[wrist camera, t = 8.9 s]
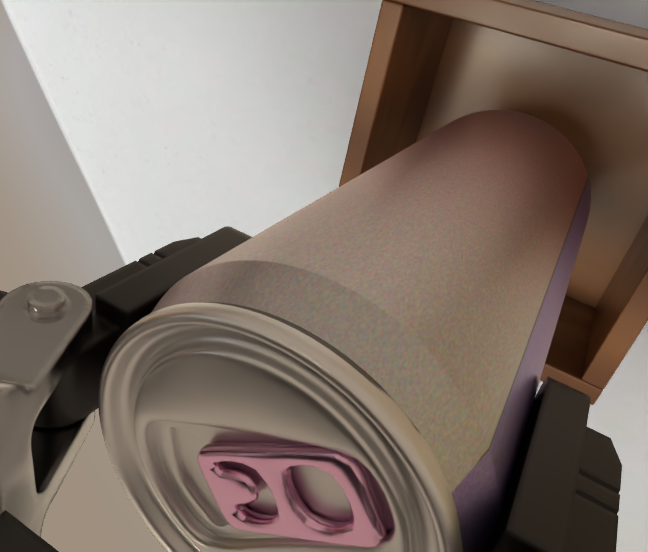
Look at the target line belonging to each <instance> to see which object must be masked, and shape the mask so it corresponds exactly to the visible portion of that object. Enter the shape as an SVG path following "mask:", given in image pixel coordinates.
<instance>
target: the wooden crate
mask: <svg viewBox="0 0 648 552" xmlns="http://www.w3.org/2000/svg"><path fill="white" fill-rule="evenodd" d="M486 110H511V111H517V112H522V113H525V114H529V115H531V116H534V117H536V118H539V119H541V120H543V121H545V122H546V123H548V124H550V125H551V126H553V127H554V128H555V129H557V130H558V131H559V132H560V133H562V134H563V135H564V136H565V137H566V138H567V139H568V140H569V142H570V143H571V144H572V145H573V147H574V148H575V149H576V151H577V152H578V154H579V156H580V157H581V159H582V161H583V163H584V166H585V168H586V171H587V174H588V178H589V183H590V190H591V205H590V212H589V217H588V221H587V224H586V228H585V231H584V234H583V238H582V241H581V244H580V248H579V251H578V254H577V258H576V261H575V264H574V268H573V271H572V274H571V278H570V281H569V284H568V288H567V291H566V294H565V298H564V301H563V304H562V308H561V311H560V314H559V318H558V321H557V324H556V328H555V331H554V335H553V338H552V341H551V345H550V348H549V351H548V355H547V358H546V361H545V365H544V368H543V371H542V375H541V378H540V381H543V382H544V381H545V379H546V378H547V377H548V376H549V377H551V378H553V379H555V380H557V381H559V382H562V383H564V384H566V385H568V386H570V387H572V388H574V389H577V390H579V391H581V392H583V393H585V394H587V395H589V396H590V397H591V400H590V404H591V405H593V404H595V402H596V400H597V399H598V397H599V396H600V394H601V393H602V391H603V389H604V388H605V387H606V385H607V383H608V382H609V380H610V379H611V377H612V376H613V374H614V372H615V371H616V369H617V368H618V366H619V365H620V363H621V361H622V360H623V358H624V357H625V355H626V354H627V352H628V351H629V349H630V347H631V346H632V344H633V343H634V341H635V340H636V338H637V336H638V335H639V333H640V332H641V330H642V329H643V327H644V325H645V324H646V322H647V321H648V30H647V29H643V28H639V27H635V26H631V25H627V24H624V23H620V22H616V21H612V20H608V19H604V18H600V17H596V16H592V15H588V14H584V13H580V12H576V11H572V10H568V9H564V8H561V7H557V6H553V5H549V4H545V3H541V2H537V1H533V0H383V1H382V4H381V9H380V13H379V17H378V21H377V26H376V30H375V34H374V39H373V43H372V47H371V51H370V56H369V60H368V64H367V68H366V73H365V77H364V81H363V86H362V90H361V94H360V98H359V103H358V107H357V111H356V115H355V120H354V124H353V128H352V133H351V137H350V141H349V145H348V150H347V154H346V158H345V163H344V167H343V171H342V175H341V180H340V184H339V187H340V186H342V185H344V184H345V183H347V182H349V181H351V180H352V179H354V178H356V177H358V176H359V175H361V174H363V173H364V172H366V171H368V170H370V169H371V168H373V167H375V166H377V165H378V164H380V163H382V162H383V161H385V160H387V159H389V158H390V157H392V156H394V155H395V154H397V153H399V152H401V151H402V150H404V149H406V148H408V147H409V146H411V145H413V144H414V143H416V142H418V141H420V140H421V139H423V138H425V137H427V136H428V135H430V134H432V133H433V132H435V131H437V130H439V129H440V128H442V127H444V126H446V125H447V124H449V123H451V122H453V121H454V120H456V119H458V118H460V117H463V116H465V115H468V114H472V113H475V112H480V111H486Z"/></svg>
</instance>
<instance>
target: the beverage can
mask: <svg viewBox="0 0 648 552" xmlns="http://www.w3.org/2000/svg"><path fill="white" fill-rule="evenodd" d="M590 205H591V190H590V183H589V178H588V174H587V171H586V168H585V166H584V163H583V161H582V159H581V157H580V156H579V154H578V152H577V151H576V149H575V148H574V147H573V145H572V144H571V143H570V142H569V140H568V139H567V138H566V137H565V136H564V135H563V134H562V133H560V132H559V131H558V130H557V129H555V128H554V127H553V126H551V125H550V124H548V123H546V122H545V121H543V120H541V119H539V118H536V117H534V116H531V115H529V114H525V113H522V112H517V111H511V110H486V111H480V112H475V113H472V114H468V115H465V116H463V117H460V118H458V119H456V120H454V121H453V122H451V123H449V124H447V125H446V126H444V127H442V128H440V129H439V130H437V131H435V132H433V133H432V134H430V135H428V136H427V137H425V138H423V139H421V140H420V141H418V142H416V143H414V144H413V145H411V146H409V147H408V148H406V149H404V150H402V151H401V152H399V153H397V154H395V155H394V156H392V157H390V158H389V159H387V160H385V161H383V162H382V163H380V164H378V165H377V166H375V167H373V168H371V169H370V170H368V171H366V172H364V173H363V174H361V175H359V176H358V177H356V178H354V179H352V180H351V181H349V182H347V183H345V184H344V185H342V186H340V187H339V188H337V189H335V190H333V191H332V192H330V193H328V194H327V195H325V196H323V197H321V198H320V199H318V200H316V201H314V202H313V203H311V204H309V205H308V206H306V207H304V208H302V209H301V210H299V211H297V212H295V213H294V214H292V215H290V216H289V217H287V218H285V219H283V220H282V221H280V222H278V223H276V224H275V225H273V226H271V227H270V228H268V229H266V230H264V231H263V232H261V233H259V234H258V235H256V236H254V237H252V238H251V239H249V240H247V241H245V242H244V243H242V244H240V245H239V246H237V247H235V248H233V249H232V250H230V251H228V252H226V253H225V254H223V255H221V256H220V257H218V258H216V259H214V260H213V261H211V262H209V263H208V264H206V265H204V266H202V267H201V268H199V269H197V270H195V271H194V272H192V273H190V274H189V275H187V276H185V277H184V278H182V279H181V280H179V281H178V282H177V283H175V284H174V285H173V286H172V287H171V288H170V289H169V290H168V291H167V292H166V293H165V295H164V296H163V297H162V298H161V299H160V301H159V302H158V304H157V305H156V306H155V308H154V309H153V311H152V312H151V313H150V314H149V315H147V316H145V317H143V318H142V319H140V320H139V321H137V322H136V323H134V324H133V325H132V326H130V327H129V328H128V329H127V330H126V331H125V332H124V333H123V334H122V335H121V336H120V337H119V339H118V340H117V341H116V342H115V344H114V345H113V347H112V348H111V350H110V352H109V354H108V356H107V358H106V361H105V363H104V366H103V369H102V373H101V377H100V383H99V395H98V404H99V416H100V423H101V428H102V433H103V437H104V441H105V445H106V448H107V451H108V454H109V457H110V460H111V462H112V465H113V467H114V470H115V472H116V474H117V476H118V479H119V481H120V483H121V485H122V487H123V489H124V490H125V493H126V494H127V496H128V498H129V500H130V501H131V503H132V505H133V506H134V508H135V510H136V511H137V513H138V514H139V516H140V517H141V519H142V520H143V522H144V523H145V525H146V526H147V527H148V529H149V530H150V531H151V533H152V534H153V535H154V537H155V538H156V539H157V540H158V542H159V543H160V544H161V545H162V546H163V548H164V549H165V550H166V551H167V552H486V550H487V548H488V546H489V544H490V542H491V540H492V538H493V535H494V532H495V528H496V525H497V522H498V518H499V515H500V512H501V508H502V505H503V502H504V498H505V495H506V492H507V488H508V485H509V482H510V478H511V475H512V471H513V468H514V465H515V461H516V458H517V455H518V451H519V448H520V445H521V441H522V438H523V435H524V431H525V428H526V425H527V421H528V418H529V415H530V411H531V408H532V405H533V401H534V398H535V395H536V391H537V388H538V385H539V381H540V378H541V375H542V371H543V368H544V365H545V361H546V358H547V355H548V351H549V348H550V345H551V341H552V338H553V335H554V331H555V328H556V324H557V321H558V318H559V314H560V311H561V308H562V304H563V301H564V298H565V294H566V291H567V288H568V284H569V281H570V278H571V274H572V271H573V268H574V264H575V261H576V258H577V254H578V251H579V248H580V244H581V241H582V238H583V234H584V231H585V228H586V224H587V221H588V217H589V212H590Z"/></svg>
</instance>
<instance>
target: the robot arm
mask: <svg viewBox="0 0 648 552" xmlns="http://www.w3.org/2000/svg"><path fill="white" fill-rule="evenodd" d="M251 238H252V237H251V236H249V235H247V234H244V233H242V232H240V231H238V230H236V229H234V228H232V227H224V228H222V229H220V230H218V231H216V232H214V233H212V234H210V235H208V236H206V237H204V238H202V239H201V238H199V237H197V238H192V239H186V240H181V241H175V242H173V243H171V244H168V245H166V246H164V247H162V248H160V249H158V250H156V251H155V253H154V254H152V253H150V254H148V255H146V256H144V257H142V258H140V259H139V261H138V262H137V261H134V262H132V263H130V264H128V265H126V266H124V267H122V268H120V269H118V270H116V271H114V272H112V273H110V274H108V275H106V276H104V277H101V278H99V279H97V280H96V281H93V282H91V283H90V284H87V285H85V286H83V287H79V286H76V285H73V284H71V283H67V282H61V281H41V282H35V283H30V284H26V285H23V286H20V287H18V288H16V289H14V290H12V291H11V292H9V293H7V292H4V291H0V552H58V551H57V550H56V549H55V548H53V547H52V546H51V545H50V544H48V543H47V542H45V541H44V540H43V539H42V538H41V532H42V526H43V522H44V519H45V516H46V513H47V511H48V508H49V506H50V504H51V502H52V501H53V499H54V497H55V495H56V493H57V491H58V489H59V487H60V486H61V484H62V482H63V480H64V478H65V476H66V474H67V473H68V471H69V469H70V467H71V465H72V463H73V461H74V460H75V458H76V456H77V454H78V452H79V450H80V448H81V446H82V444H83V443H84V441H85V439H86V437H87V435H88V433H89V432H90V430H91V428H92V426H93V423H94V419H95V410H96V409H97V408H99V404H98V395H99V383H100V377H101V373H102V369H103V366H104V363H105V361H106V358H107V356H108V354H109V352H110V350H111V348H112V347H113V345H114V344H115V342H116V341H117V340H118V339H119V337H120V336H121V335H122V334H123V333H124V332H125V331H126V330H127V329H128V328H129V327H130V326H132V325H133V324H134V323H136V322H137V321H139V320H140V319H142V318H143V317H145V316H147V315H149V314H150V313H151V312H152V311H153V309H154V308H155V306H156V305H157V304H158V302H159V301H160V299H161V298H162V297H163V296H164V295H165V293H166V292H167V291H168V290H169V289H170V288H171V287H172V286H173V285H174V284H175V283H177V282H178V281H179V280H181V279H182V278H184V277H185V276H187V275H189V274H190V273H192V272H194V271H195V270H197V269H199V268H201V267H202V266H204V265H206V264H208V263H209V262H211V261H213V260H214V259H216V258H218V257H220V256H221V255H223V254H225V253H226V252H228V251H230V250H232V249H233V248H235V247H237V246H239V245H240V244H242V243H244V242H245V241H247V240H249V239H251ZM590 400H591V397H590V396H589V395H587V394H585V393H583V392H581V391H579V390H577V389H574V388H572V387H570V386H568V385H566V384H564V383H562V382H559V381H557V380H555V379H553V378H551V377H549V376H548V377H547V378H546V379H545V381H544V382H543V384H542V386H541V387H540V389H539V391H538V393H537V395H536V396H535V398H534V401H533V405H532V408H531V411H530V415H529V418H528V421H527V425H526V428H525V431H524V435H523V438H522V441H521V445H520V448H519V451H518V455H517V458H516V461H515V465H514V468H513V471H512V475H511V478H510V482H509V485H508V488H507V492H506V495H505V498H504V502H503V505H502V508H501V512H500V515H499V518H498V522H497V525H496V528H495V532H494V535H493V538H492V540H491V542H490V544H489V546H488V548H487V550H486V552H616V542H617V528H618V516H617V513H618V511H619V499H620V495H619V491H620V485H621V471H622V464H621V462H620V460H619V457H618V455H617V453H616V450H615V448H614V446H613V443H612V441H611V438H609V437H607V436H605V435H603V434H601V433H599V432H597V431H595V430H593V429H590V428H588V427H586V425H587V419H588V413H589V407H590Z"/></svg>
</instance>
